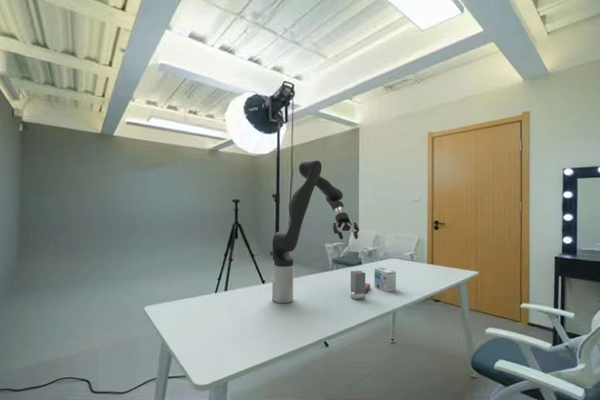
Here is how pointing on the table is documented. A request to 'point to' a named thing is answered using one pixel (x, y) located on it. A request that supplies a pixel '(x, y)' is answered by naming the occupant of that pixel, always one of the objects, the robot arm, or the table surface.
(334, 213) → the robot arm
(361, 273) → the socket
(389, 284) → the light bulb box
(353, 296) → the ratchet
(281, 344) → the table surface
